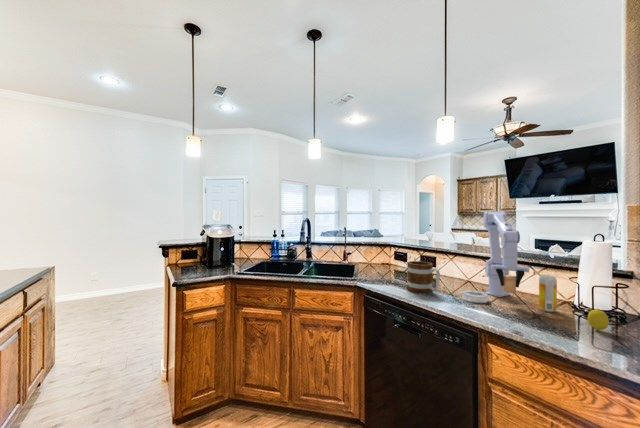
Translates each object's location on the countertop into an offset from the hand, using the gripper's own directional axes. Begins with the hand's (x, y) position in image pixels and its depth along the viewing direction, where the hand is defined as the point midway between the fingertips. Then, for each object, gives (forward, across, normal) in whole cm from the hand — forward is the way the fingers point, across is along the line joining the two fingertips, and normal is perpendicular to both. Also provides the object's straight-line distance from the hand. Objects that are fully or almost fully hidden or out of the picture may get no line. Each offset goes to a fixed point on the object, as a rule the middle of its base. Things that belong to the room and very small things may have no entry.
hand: (509, 286), depth 131 cm
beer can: (+9, +14, 0) cm, 17 cm away
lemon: (+9, +24, -20) cm, 32 cm away
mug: (+9, -38, +8) cm, 40 cm away
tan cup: (+2, 0, 0) cm, 2 cm away
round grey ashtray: (+9, -14, +4) cm, 17 cm away
